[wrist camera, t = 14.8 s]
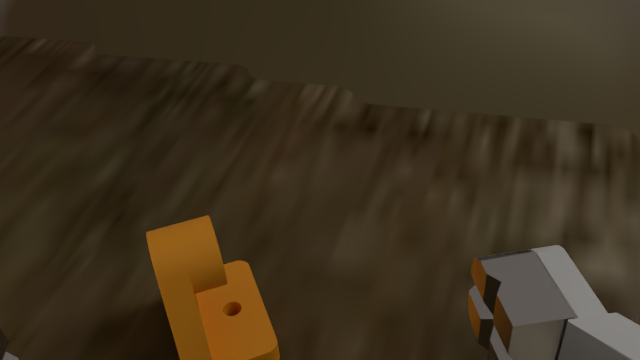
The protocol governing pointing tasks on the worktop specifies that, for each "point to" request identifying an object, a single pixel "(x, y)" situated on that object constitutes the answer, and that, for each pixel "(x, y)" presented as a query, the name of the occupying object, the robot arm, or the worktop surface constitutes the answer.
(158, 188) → the worktop surface
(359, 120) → the worktop surface
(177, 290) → the bracket
